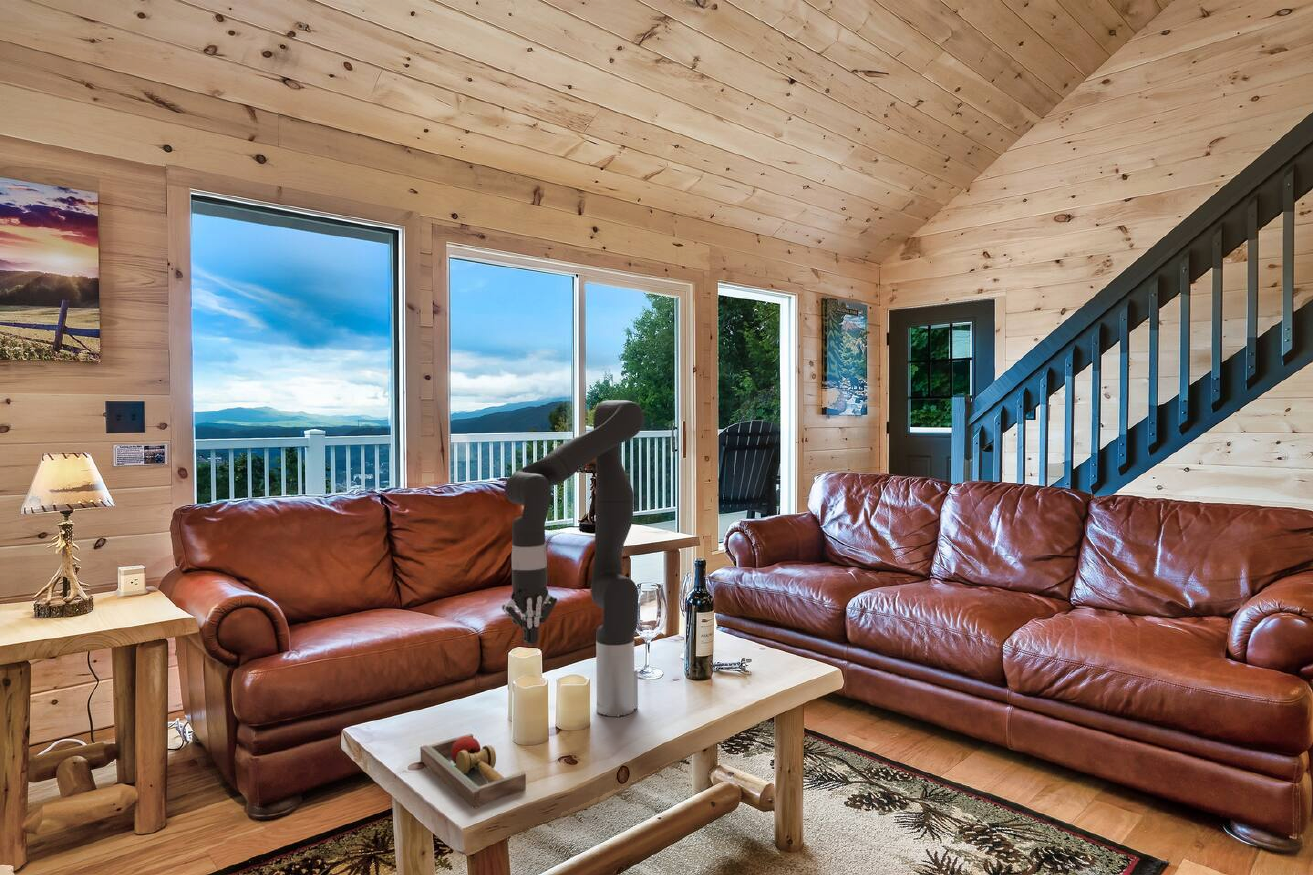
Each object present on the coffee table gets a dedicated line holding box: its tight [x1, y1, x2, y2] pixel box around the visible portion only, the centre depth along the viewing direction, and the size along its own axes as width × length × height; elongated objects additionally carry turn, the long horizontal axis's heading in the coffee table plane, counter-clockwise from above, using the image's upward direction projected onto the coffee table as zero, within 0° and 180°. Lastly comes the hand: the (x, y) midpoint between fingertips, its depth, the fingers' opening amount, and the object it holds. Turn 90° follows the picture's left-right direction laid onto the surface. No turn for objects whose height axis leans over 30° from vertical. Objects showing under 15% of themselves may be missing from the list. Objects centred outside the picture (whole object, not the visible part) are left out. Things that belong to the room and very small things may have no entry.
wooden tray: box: [419, 733, 527, 809], centre depth 158 cm, size 11×25×3 cm, turn 39°
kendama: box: [450, 736, 505, 784], centre depth 158 cm, size 8×6×18 cm
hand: (530, 643), depth 171 cm, fingers closed
